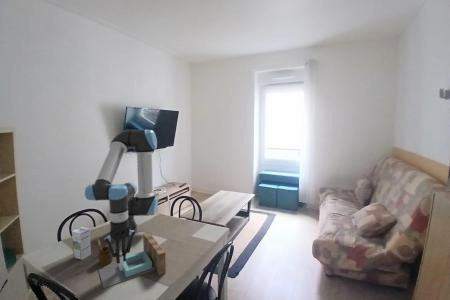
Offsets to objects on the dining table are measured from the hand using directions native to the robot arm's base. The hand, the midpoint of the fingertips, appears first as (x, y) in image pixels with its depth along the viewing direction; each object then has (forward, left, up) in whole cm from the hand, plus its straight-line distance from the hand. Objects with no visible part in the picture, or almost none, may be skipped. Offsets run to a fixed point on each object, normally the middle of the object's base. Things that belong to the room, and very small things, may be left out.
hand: (121, 268), depth 105 cm
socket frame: (0, +7, -2) cm, 7 cm away
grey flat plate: (0, +3, -2) cm, 3 cm away
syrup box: (-25, -14, -2) cm, 28 cm away
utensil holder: (-13, -5, -2) cm, 14 cm away
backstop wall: (0, +15, -2) cm, 15 cm away
